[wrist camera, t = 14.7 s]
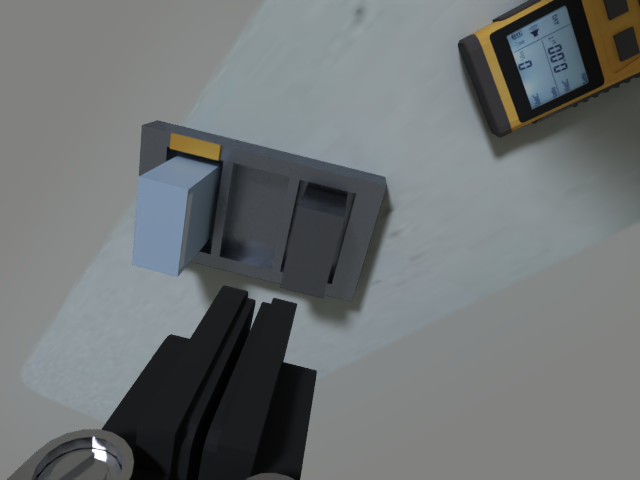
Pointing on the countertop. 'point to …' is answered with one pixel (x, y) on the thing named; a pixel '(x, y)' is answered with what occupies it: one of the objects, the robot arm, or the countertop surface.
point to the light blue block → (175, 212)
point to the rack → (278, 211)
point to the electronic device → (551, 58)
